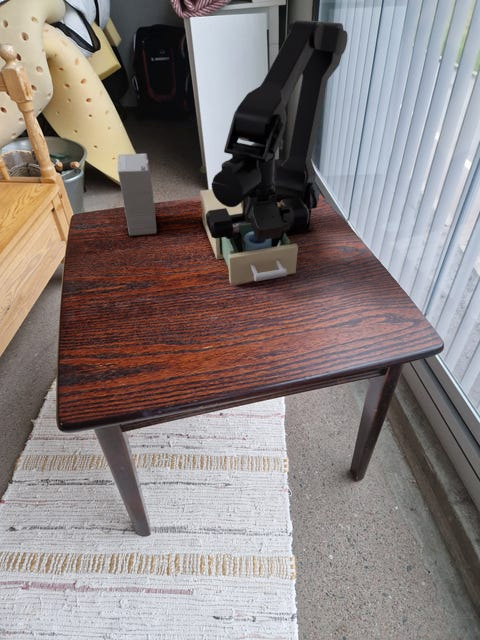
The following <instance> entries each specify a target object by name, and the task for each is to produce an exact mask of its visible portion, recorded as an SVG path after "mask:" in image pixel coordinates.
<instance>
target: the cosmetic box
mask: <svg viewBox="0 0 480 640" xmlns="http://www.w3.org/2000/svg"><path fill="white" fill-rule="evenodd" d="M148 158H149V157H148V154H147V153H124V154H118V155H117V174H118V178H119V179H118V180H119V184H120V190H121V196H122V202H123V206H124V208H123V209H124V212H125V218H126V224H127V225H126V226H127V229H128V235H129V236H130V237H131V236H142V235H152V234H157V220H156V210H155V209H156V208H155V200H154V190H153V183H152V177H151V171H150V165H149V163H150V162H149V159H148Z"/></svg>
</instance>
